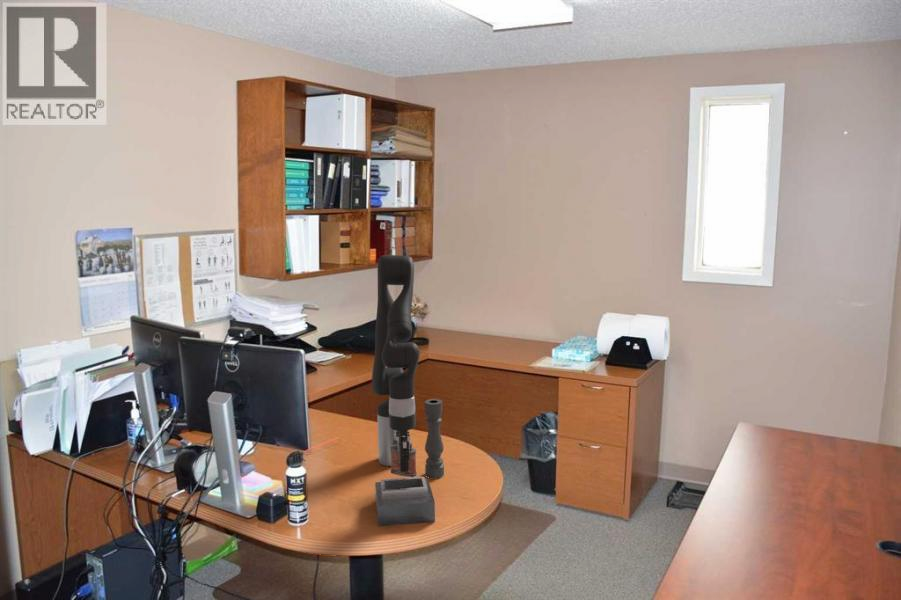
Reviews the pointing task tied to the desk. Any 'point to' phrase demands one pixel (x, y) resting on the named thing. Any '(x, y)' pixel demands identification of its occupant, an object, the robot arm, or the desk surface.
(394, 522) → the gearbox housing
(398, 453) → the lighter
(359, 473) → the desk surface
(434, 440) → the candle holder
